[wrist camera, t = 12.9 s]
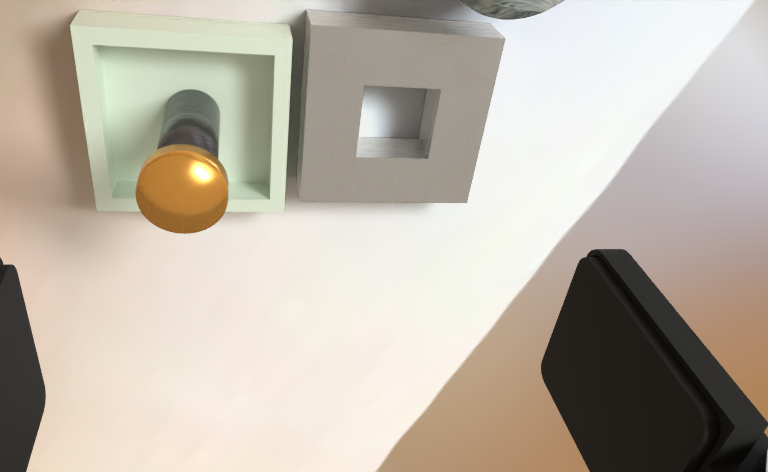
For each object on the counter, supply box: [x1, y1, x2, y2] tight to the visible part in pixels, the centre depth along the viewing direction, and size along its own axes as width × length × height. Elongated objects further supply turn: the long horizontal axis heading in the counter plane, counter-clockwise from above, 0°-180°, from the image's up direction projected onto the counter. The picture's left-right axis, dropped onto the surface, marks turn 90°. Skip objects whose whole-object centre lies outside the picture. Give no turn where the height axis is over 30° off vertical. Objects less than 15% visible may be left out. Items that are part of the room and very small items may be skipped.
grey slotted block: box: [296, 9, 505, 203], centre depth 43 cm, size 12×12×3 cm
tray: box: [70, 10, 293, 212], centre depth 41 cm, size 12×12×3 cm
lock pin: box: [135, 89, 228, 234], centre depth 38 cm, size 5×5×10 cm
